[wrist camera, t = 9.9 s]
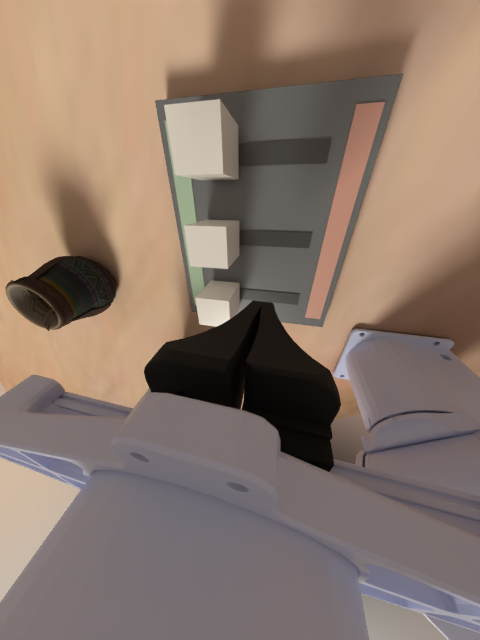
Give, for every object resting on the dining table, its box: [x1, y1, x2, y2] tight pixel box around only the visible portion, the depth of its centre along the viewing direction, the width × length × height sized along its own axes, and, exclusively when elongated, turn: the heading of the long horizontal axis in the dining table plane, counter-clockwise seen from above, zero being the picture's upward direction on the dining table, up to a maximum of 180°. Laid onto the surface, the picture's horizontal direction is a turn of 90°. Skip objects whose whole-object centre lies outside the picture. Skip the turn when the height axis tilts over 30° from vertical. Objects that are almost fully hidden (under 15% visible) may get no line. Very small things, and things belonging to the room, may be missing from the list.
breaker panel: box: [155, 74, 403, 327], centre depth 16 cm, size 15×17×2 cm
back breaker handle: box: [195, 280, 240, 327], centre depth 18 cm, size 3×3×4 cm
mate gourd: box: [6, 256, 116, 331], centre depth 20 cm, size 7×8×10 cm
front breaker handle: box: [164, 99, 239, 180], centre depth 11 cm, size 3×3×4 cm
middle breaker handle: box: [184, 220, 239, 269], centre depth 14 cm, size 3×3×4 cm
